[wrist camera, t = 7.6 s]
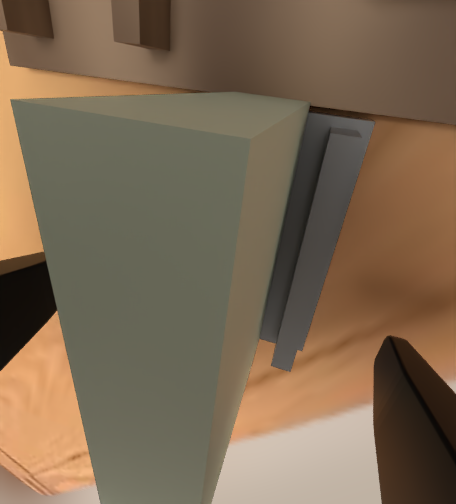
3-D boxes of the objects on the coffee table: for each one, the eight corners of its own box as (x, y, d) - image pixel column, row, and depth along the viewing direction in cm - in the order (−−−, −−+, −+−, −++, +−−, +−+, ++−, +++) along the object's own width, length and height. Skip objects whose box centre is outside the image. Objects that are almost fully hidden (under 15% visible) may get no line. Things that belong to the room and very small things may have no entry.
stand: (372, 119, 10) (383, 127, 8) (303, 338, 14) (298, 379, 12) (184, 93, 11) (151, 95, 9) (178, 303, 16) (155, 334, 14)
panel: (310, 101, 9) (251, 138, 2) (259, 340, 14) (192, 568, 7) (234, 91, 10) (10, 99, 3) (210, 325, 15) (106, 528, 8)
